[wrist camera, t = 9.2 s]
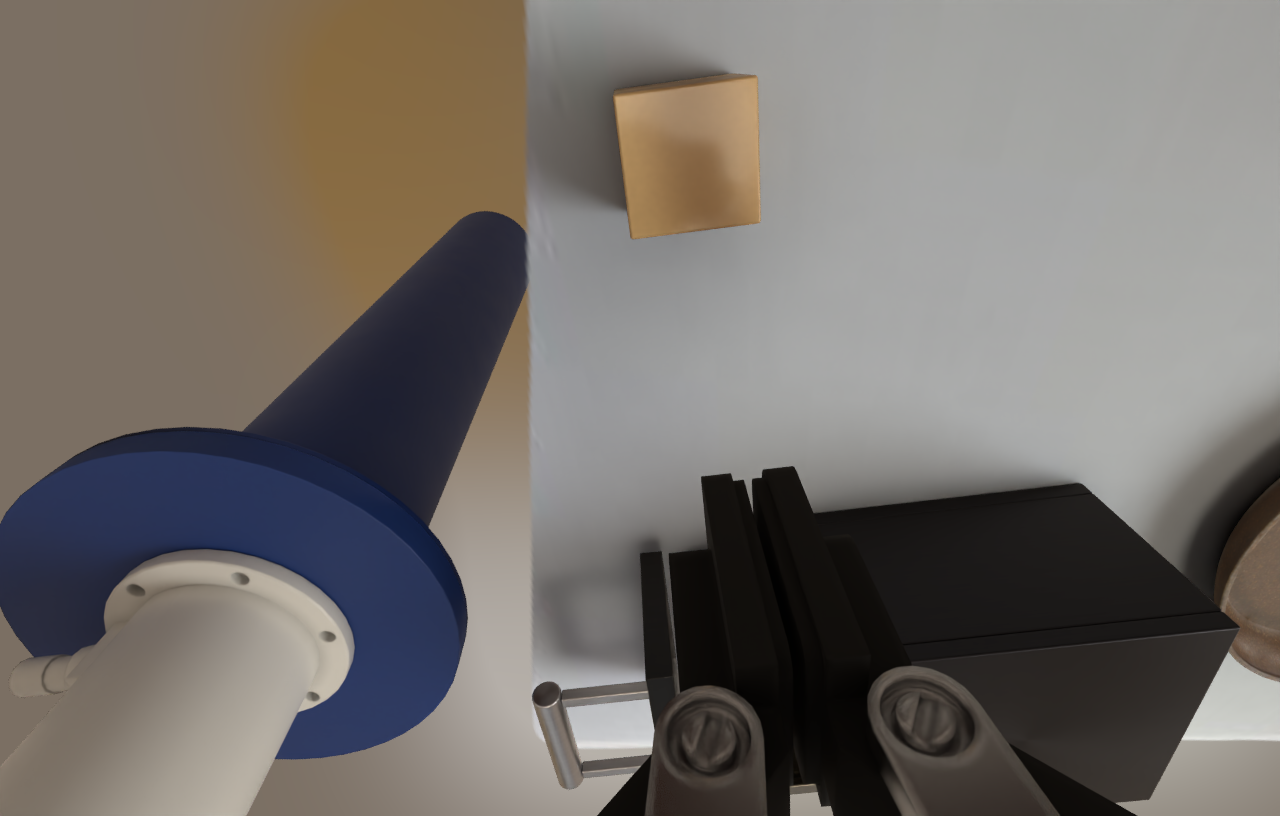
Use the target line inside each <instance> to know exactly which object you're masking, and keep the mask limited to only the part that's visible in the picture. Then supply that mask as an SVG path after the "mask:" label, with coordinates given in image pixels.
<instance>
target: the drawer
mask: <svg viewBox="0 0 1280 816" xmlns="http://www.w3.org/2000/svg"><path fill="white" fill-rule="evenodd" d="M640 563H641V586H642V608H643V631H644V653H645V676H646V681H643V682H633V683H624V684H614V685H605V686H595V687H586V688H576V689H567V690H562V693H561V689H560V687H559V686H558V685H557V684H556V683H554V682H544V683H542V684H540V685H539V686H537V687H536V689H535V690H534V692H533V694H532V701H533V704H534V707H535V710H536V714H537V717H538V720H539V723H540V726H541V729H542V732H543V735H544V738H545V741H546V744H547V747H548V750H549V753H550V756H551V759H552V762H553V765H554V768H555V772H556V774H557V778H558V781H559V783H560V785H561V786H562V787H563V788H565V789H574V788H576V787H578V786H579V785H580V784H581V782H582V781H583V778H590V777H600V776H610V775H621V774H630V773H635V772H636V771H637V770H638V769H639V768H640V767H641V766H642V764H643V763H644V762H645V761H646V760H647V759H648V758H649V757H650V755H644V756H634V757H624V758H614V759H604V760H594V761H584V762H583V763H582V762H581V759H580V756H579V752H578V748H577V745H576V741H575V738H574V734H573V731H572V727H571V724H570V720H569V717H568V714H567V710H566V707H575V706H584V705H594V704H603V703H613V702H623V701H632V700H642V699H649V701H650V706H651V712H652V718H653V723H654V729H655V728H656V724H657V721H658V717H659V715H660V713H661V712H662V710H663V709H664V707H665V706H666V704H667V703H668V702H669V701H670V700H672V699H673V698H674V697H675V696H676V695H678V694H679V693H680V689H679V676H678V668H677V661H676V653H675V646H674V638H673V631H672V624H671V616H670V609H669V601H668V594H667V587H666V579H665V572H664V564H663V557H662V552H661V551H658V552H649V553H641V554H640ZM811 792H817V788H816V784H809V785H804V784H803V781H802V778H801V775H800V771H799V767H798V762H797V758H796V754H795V750H794V746H793V786H790V795H791V794H802V793H811Z"/></svg>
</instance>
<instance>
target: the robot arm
mask: <svg viewBox="0 0 1280 816" xmlns="http://www.w3.org/2000/svg"><path fill="white" fill-rule="evenodd" d="M701 482H702V493H703V503H704V514H705V524H706V534H707V545H708V549H706V550H696V551H687V552H678V553H669V565H670V578H671V590H672V602H673V615H674V627H675V639H676V652H677V664H678V676H679V689H680V693H679V694H678V695H676V696H675V697H674V698H673V699H672V700H670V701H669V702H668V703H667V704H666V706H665V707H664V709H663V710H662V712H661V713H660V715H659V717H658V721H657V724H656V728H655V731H654V740H653V749H652V754H651V755H650V757H649V758H648V759H647V760H646V761H645V762H644V763H643V764H642V766H641V767H640V768H639V769H638V770H637V771H636V772H635V773H634V775H633V776H632V777H631V778H630V779H629V780H628V781H627V782H626V784H625V785H624V786H623V787H622V788H621V789H620V790H619V792H618V793H617V794H616V795H615V796H614V797H613V798H612V799H611V801H610V802H609V803H608V804H607V805H606V806H605V807H604V808H603V810H602V811H601V812H600V813H599V814H598V815H597V816H790V786H793V746H794V750H795V754H796V758H797V762H798V767H799V771H800V775H801V778H802V781H803V784H804V785H809V784H816V788H817V792H818V795H819V799H820V803H821V806H831V808H832V811H833V815H834V816H1137V815H1135V814H1133V813H1131V812H1130V811H1128V810H1126V809H1124V808H1123V807H1121V806H1119V805H1117V804H1116V803H1114V802H1112V801H1110V800H1108V799H1107V798H1105V797H1103V796H1101V795H1100V794H1098V793H1096V792H1094V791H1093V790H1091V789H1089V788H1087V787H1086V786H1084V785H1082V784H1080V783H1078V782H1077V781H1075V780H1073V779H1071V778H1070V777H1068V776H1066V775H1064V774H1063V773H1061V772H1059V771H1057V770H1056V769H1054V768H1052V767H1050V766H1048V765H1047V764H1045V763H1043V762H1041V761H1040V760H1038V759H1036V758H1034V757H1033V756H1031V755H1029V754H1027V753H1026V752H1024V751H1022V750H1020V749H1018V748H1017V747H1015V746H1013V745H1011V744H1010V743H1008V742H1007V741H1006V740H1005V738H1004V737H1003V736H1002V734H1001V733H1000V731H999V730H998V729H997V727H996V726H995V724H994V723H993V722H992V720H991V719H990V718H989V716H988V715H987V713H986V712H985V711H984V709H983V708H982V706H981V705H980V704H979V702H978V701H977V700H976V699H975V698H974V697H973V696H972V694H971V693H970V692H969V691H968V690H967V689H966V688H965V687H964V686H962V685H961V684H960V683H958V682H957V681H955V680H954V679H952V678H951V677H949V676H947V675H945V674H943V673H940V672H938V671H935V670H933V669H930V668H924V667H918V666H913V665H912V663H911V661H910V659H909V657H908V655H907V653H906V650H905V648H904V646H903V644H902V642H901V640H900V638H899V635H898V633H897V631H896V629H895V627H894V625H893V623H892V620H891V618H890V616H889V614H888V612H887V610H886V608H885V605H884V603H883V601H882V599H881V597H880V595H879V593H878V590H877V588H876V586H875V584H874V582H873V580H872V578H871V575H870V573H869V571H868V569H867V567H866V565H865V563H864V560H863V558H862V556H861V554H860V552H859V550H858V548H857V545H856V543H855V542H854V540H853V538H852V537H851V536H850V535H849V534H845V535H836V536H826V537H823V536H822V533H821V531H820V528H819V526H818V523H817V521H816V518H815V516H814V513H813V511H812V508H811V506H810V504H809V501H808V499H807V496H806V494H805V491H804V489H803V486H802V484H801V481H800V479H799V476H798V474H797V471H796V469H795V467H793V466H790V467H782V468H773V469H764V470H763V472H762V478H755V479H752V495H753V512H752V508H751V504H750V501H749V497H748V493H747V490H746V486H745V483H744V480H738V481H733V479H732V475H731V473H729V474H720V475H711V476H702V477H701ZM104 622H105V629H106V634H105V635H104V636H103V637H102V638H101V639H100V640H99V642H98V643H97V644H96V645H91V646H87V647H84V648H81V649H80V650H79V651H78V652H76V653H75V654H74V655H72V656H70V655H63V654H61V655H52V656H42V657H33V658H29V659H26V660H24V661H22V662H20V663H19V664H18V665H17V666H16V667H15V668H14V669H13V671H12V673H11V675H10V677H9V689H10V691H11V692H12V694H13V695H14V696H17V697H21V698H24V697H33V696H42V695H52V694H57V693H61V692H63V691H67V692H66V693H65V694H64V695H63V696H62V697H61V698H60V700H59V701H58V702H57V703H56V704H55V705H54V706H53V708H52V709H51V710H50V711H49V712H48V713H47V714H46V716H45V717H44V718H43V719H42V720H41V721H40V722H39V723H38V725H37V726H36V727H35V728H34V729H33V730H32V731H31V732H30V734H29V735H28V736H27V737H26V738H25V739H24V741H23V742H22V743H21V744H20V745H19V746H18V747H17V748H16V750H15V751H14V752H13V753H12V754H11V755H10V756H9V758H8V759H7V760H6V761H5V762H4V763H3V764H2V765H1V767H0V816H246V815H247V813H248V811H249V809H250V807H251V805H252V803H253V801H254V799H255V797H256V795H257V793H258V791H259V789H260V787H261V785H262V783H263V781H264V779H265V777H266V775H267V773H268V771H269V769H270V767H271V765H272V763H273V761H274V759H275V757H276V755H277V753H278V751H279V749H280V747H281V745H282V743H283V741H284V739H285V737H286V735H287V733H288V731H289V729H290V727H291V725H292V723H293V721H294V719H295V717H296V715H297V712H300V711H303V710H306V709H309V708H312V707H314V706H316V705H318V704H320V703H322V702H324V701H325V700H327V699H328V698H329V697H330V696H332V695H333V694H334V693H335V692H336V691H337V690H338V689H339V687H340V686H341V684H342V683H343V681H344V680H345V678H346V676H347V674H348V671H349V669H350V666H351V664H352V662H353V657H354V649H355V645H354V639H353V633H352V631H351V628H350V626H349V624H348V622H347V619H346V617H345V616H344V615H343V613H342V612H341V611H340V609H339V608H338V607H337V605H336V604H335V603H334V602H333V601H332V600H331V599H330V598H329V597H328V596H327V595H326V594H325V593H324V592H323V591H322V590H321V589H320V588H318V587H317V586H315V585H314V584H312V583H311V582H310V581H308V580H307V579H305V578H304V577H302V576H301V575H299V574H297V573H295V572H293V571H291V570H289V569H287V568H285V567H283V566H281V565H278V564H276V563H273V562H270V561H267V560H264V559H262V558H259V557H255V556H251V555H246V554H242V553H238V552H233V551H223V550H212V549H197V550H182V551H177V552H172V553H166V554H162V555H160V556H157V557H155V558H152V559H150V560H147V561H145V562H143V563H142V564H140V565H139V566H137V567H136V568H135V569H133V570H132V571H130V572H129V573H128V575H127V576H126V577H125V578H124V579H123V580H122V581H121V582H120V583H119V584H118V585H117V586H116V587H115V588H114V589H113V591H112V593H111V595H110V596H109V598H108V600H107V602H106V606H105V612H104Z"/></svg>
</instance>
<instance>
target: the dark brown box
mask: <svg viewBox="0 0 1280 816" xmlns="http://www.w3.org/2000/svg"><path fill="white" fill-rule="evenodd" d="M814 516H815V518H816V521H817V523H818V526H819V528H820V531H821V533H822V536H823V537H826V536H836V535H845V534H849V535H850V536H851V537H852V538H853V540H854V542H855V543H856V545H857V548H858V550H859V552H860V554H861V556H862V558H863V560H864V563H865V565H866V567H867V569H868V571H869V573H870V575H871V578H872V580H873V582H874V584H875V586H876V588H877V590H878V593H879V595H880V597H881V599H882V601H883V603H884V605H885V608H886V610H887V612H888V614H889V616H890V618H891V620H892V623H893V625H894V627H895V629H896V631H897V633H898V635H899V638H900V640H901V642H902V644H903V646H904V648H905V650H906V653H907V655H908V657H909V659H910V661H911V663H912V665H913V666H918V667H924V668H930V669H933V670H935V671H938V672H940V673H943V674H945V675H947V676H949V677H951V678H952V679H954V680H955V681H957V682H958V683H960V684H961V685H962V686H964V687H965V688H966V689H967V690H968V691H969V692H970V693H971V694H972V696H973V697H974V698H975V699H976V700H977V701H978V702H979V704H980V705H981V706H982V708H983V709H984V711H985V712H986V713H987V715H988V716H989V718H990V719H991V720H992V722H993V723H994V724H995V726H996V727H997V729H998V730H999V731H1000V733H1001V734H1002V736H1003V737H1004V738H1005V740H1006V741H1007V742H1008V743H1010V744H1011V745H1013V746H1015V747H1017V748H1018V749H1020V750H1022V751H1024V752H1026V753H1027V754H1029V755H1031V756H1033V757H1034V758H1036V759H1038V760H1040V761H1041V762H1043V763H1045V764H1047V765H1048V766H1050V767H1052V768H1054V769H1056V770H1057V771H1059V772H1061V773H1063V774H1064V775H1066V776H1068V777H1070V778H1071V779H1073V780H1075V781H1077V782H1078V783H1080V784H1082V785H1084V786H1086V787H1087V788H1089V789H1091V790H1093V791H1094V792H1096V793H1098V794H1100V795H1101V796H1103V797H1105V798H1107V799H1108V800H1110V801H1112V802H1114V803H1117V802H1128V801H1139V800H1149V799H1150V797H1151V796H1152V794H1153V792H1154V790H1155V788H1156V786H1157V784H1158V782H1159V781H1160V779H1161V776H1162V775H1163V773H1164V771H1165V769H1166V767H1167V766H1168V764H1169V762H1170V760H1171V758H1172V756H1173V754H1174V752H1175V751H1176V749H1177V747H1178V745H1179V743H1180V741H1181V739H1182V737H1183V735H1184V734H1185V732H1186V730H1187V728H1188V726H1189V724H1190V722H1191V720H1192V719H1193V717H1194V715H1195V713H1196V711H1197V709H1198V707H1199V705H1200V704H1201V702H1202V700H1203V698H1204V696H1205V694H1206V692H1207V690H1208V689H1209V687H1210V685H1211V683H1212V681H1213V679H1214V677H1215V675H1216V674H1217V672H1218V670H1219V668H1220V666H1221V664H1222V662H1223V660H1224V658H1225V657H1226V655H1227V653H1228V651H1229V649H1230V647H1231V645H1232V643H1233V642H1234V640H1235V638H1236V636H1237V634H1238V632H1239V630H1240V626H1239V625H1238V624H1237V623H1236V622H1234V621H1233V620H1232V619H1231V618H1230V617H1229V616H1228V615H1227V614H1226V613H1224V612H1222V610H1221V609H1220V608H1219V607H1218V606H1217V605H1216V604H1215V603H1214V602H1213V601H1211V600H1210V599H1209V598H1208V597H1207V596H1206V595H1205V594H1204V593H1203V592H1202V591H1200V590H1199V589H1198V588H1197V587H1196V586H1195V585H1194V584H1193V583H1192V582H1190V581H1189V580H1188V579H1187V578H1186V577H1185V576H1184V575H1183V574H1182V573H1180V572H1179V571H1178V570H1177V569H1176V568H1175V567H1174V566H1173V565H1172V564H1170V563H1169V562H1168V561H1167V560H1166V559H1165V558H1164V557H1163V556H1162V555H1160V554H1159V553H1158V552H1157V551H1156V550H1155V549H1154V548H1153V547H1152V546H1151V545H1149V544H1148V543H1147V542H1146V541H1145V540H1144V539H1143V538H1142V537H1141V536H1139V535H1138V534H1137V533H1136V532H1135V531H1134V530H1133V529H1132V528H1131V527H1129V526H1128V525H1127V524H1126V523H1125V522H1124V521H1123V520H1122V519H1121V518H1119V517H1118V516H1117V515H1116V514H1115V513H1114V512H1113V511H1112V510H1111V509H1109V508H1108V507H1107V506H1106V505H1105V504H1104V503H1103V502H1102V501H1101V500H1100V499H1098V498H1097V497H1096V496H1095V495H1094V494H1092V492H1091V491H1090V490H1088V489H1087V488H1086V487H1085V486H1084V485H1083V484H1074V485H1065V486H1056V487H1047V488H1038V489H1029V490H1021V491H1012V492H1003V493H994V494H985V495H976V496H968V497H959V498H950V499H941V500H932V501H923V502H914V503H906V504H897V505H888V506H879V507H870V508H861V509H853V510H844V511H835V512H826V513H817V514H814Z"/></svg>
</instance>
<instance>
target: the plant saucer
mask: <svg viewBox="0 0 1280 816" xmlns="http://www.w3.org/2000/svg"><path fill="white" fill-rule="evenodd" d="M1214 603H1215V604H1216V605H1217V606H1218V607H1219V608H1220V609H1221V610H1222V612H1224V613H1226V614H1227V615H1228V616H1229V617H1230V618H1231V619H1232V620H1233V621H1234V622H1236V623H1237V624H1238V625H1239V626H1240V630H1239V632H1238V634H1237V636H1236V638H1235V640H1234V642H1233V643H1232V645H1231V647H1230V649H1229V653H1230V654H1231V655H1232V656H1233V657H1234V659H1235V660H1236V661H1238V662H1239V663H1240V664H1241V665H1243V666H1244V667H1245V668H1247V669H1249V670H1250V671H1252V672H1254V673H1256V674H1258V675H1260V676H1263V677H1265V678H1268V679H1271V680H1275V681H1279V682H1280V478H1279V479H1278V480H1277V481H1276V482H1275V483H1273V484H1272V485H1271V486H1270V487H1269V488H1268V489H1267V490H1266V491H1265V492H1264V493H1263V494H1262V495H1261V496H1260V497H1259V498H1258V499H1257V500H1256V501H1255V502H1254V503H1253V504H1252V505H1251V507H1250V508H1249V509H1248V510H1247V511H1246V513H1245V514H1244V515H1243V516H1242V518H1241V519H1240V521H1239V522H1238V524H1237V525H1236V527H1235V528H1234V530H1233V531H1232V533H1231V535H1230V537H1229V538H1228V541H1227V543H1226V545H1225V547H1224V550H1223V552H1222V555H1221V558H1220V561H1219V564H1218V568H1217V573H1216V578H1215V587H1214Z"/></svg>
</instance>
